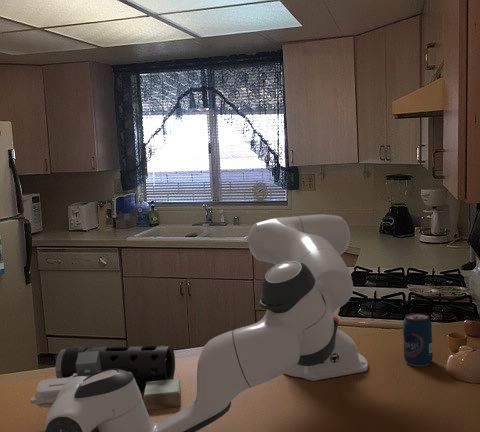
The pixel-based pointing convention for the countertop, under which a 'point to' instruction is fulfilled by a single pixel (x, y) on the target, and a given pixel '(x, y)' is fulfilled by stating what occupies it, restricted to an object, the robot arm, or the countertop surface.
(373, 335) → the countertop surface
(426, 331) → the soda can
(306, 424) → the countertop surface
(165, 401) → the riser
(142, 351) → the muzzle brake
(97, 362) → the charger
